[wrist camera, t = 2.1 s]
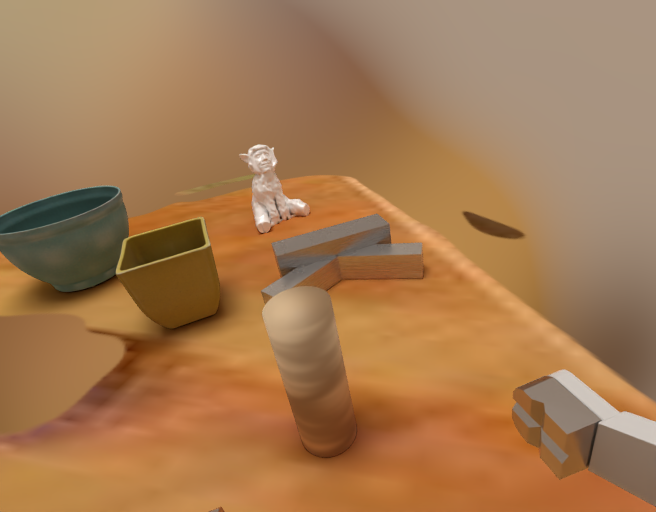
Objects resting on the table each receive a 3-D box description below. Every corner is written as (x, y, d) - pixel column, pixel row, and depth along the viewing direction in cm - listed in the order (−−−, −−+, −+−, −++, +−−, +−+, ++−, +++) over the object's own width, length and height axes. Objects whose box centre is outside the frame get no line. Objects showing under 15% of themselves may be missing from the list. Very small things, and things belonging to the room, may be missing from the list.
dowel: (308, 466, 25) (267, 338, 20) (295, 418, 29) (258, 298, 24) (365, 444, 26) (340, 314, 21) (346, 400, 29) (320, 279, 24)
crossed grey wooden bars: (271, 326, 39) (258, 285, 37) (260, 285, 46) (249, 249, 44) (433, 274, 42) (431, 233, 40) (399, 244, 49) (396, 208, 47)
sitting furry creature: (261, 236, 59) (239, 158, 53) (238, 222, 65) (217, 151, 60) (312, 214, 63) (297, 139, 57) (286, 203, 70) (270, 135, 64)
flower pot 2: (236, 318, 41) (210, 244, 37) (152, 348, 39) (113, 273, 35) (226, 280, 49) (203, 215, 44) (154, 304, 47) (123, 238, 42)
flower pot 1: (150, 238, 66) (124, 176, 60) (148, 281, 52) (113, 206, 47) (46, 269, 62) (7, 206, 56) (13, 324, 48) (-41, 248, 43)
